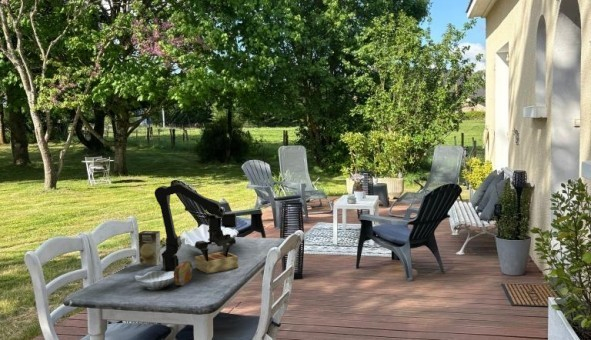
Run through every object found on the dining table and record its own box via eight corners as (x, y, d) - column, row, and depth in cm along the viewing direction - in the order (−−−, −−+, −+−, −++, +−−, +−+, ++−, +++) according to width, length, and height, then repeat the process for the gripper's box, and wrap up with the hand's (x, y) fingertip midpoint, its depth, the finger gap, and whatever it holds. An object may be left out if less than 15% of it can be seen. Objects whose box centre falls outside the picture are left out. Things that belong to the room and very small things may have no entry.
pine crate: (207, 273, 252) (206, 261, 251) (195, 268, 262) (194, 256, 262) (238, 267, 261) (237, 256, 260) (225, 262, 271) (225, 251, 271)
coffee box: (139, 265, 270) (137, 233, 268) (143, 262, 276) (142, 230, 275) (157, 265, 269) (155, 233, 267) (161, 262, 275) (160, 230, 274)
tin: (180, 288, 231) (179, 268, 230) (173, 287, 232) (172, 268, 231) (193, 277, 246) (192, 259, 245) (187, 277, 247) (186, 259, 246)
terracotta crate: (214, 269, 256) (214, 258, 256) (207, 266, 263) (206, 255, 263) (226, 267, 260) (225, 256, 259) (218, 263, 266) (217, 253, 266)
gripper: (204, 233, 248) (205, 267, 249) (240, 227, 258) (241, 260, 260) (193, 229, 257) (195, 262, 258) (229, 224, 268) (230, 256, 269)
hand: (216, 260), depth 261 cm, fingers open, 9 cm apart
